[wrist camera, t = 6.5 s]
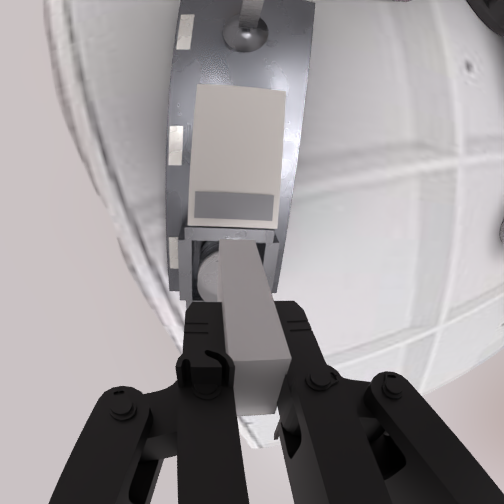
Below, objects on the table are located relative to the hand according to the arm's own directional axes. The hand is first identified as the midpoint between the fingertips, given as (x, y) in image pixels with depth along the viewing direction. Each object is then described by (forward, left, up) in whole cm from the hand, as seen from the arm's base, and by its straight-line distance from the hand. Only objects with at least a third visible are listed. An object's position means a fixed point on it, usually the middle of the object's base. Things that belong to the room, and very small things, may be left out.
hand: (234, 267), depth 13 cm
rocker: (-4, 0, -7) cm, 8 cm away
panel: (-4, 0, -13) cm, 14 cm away
